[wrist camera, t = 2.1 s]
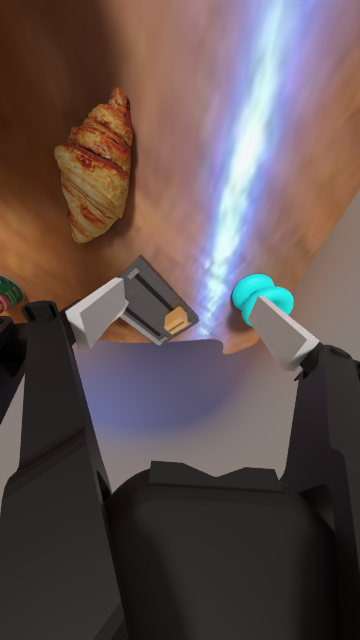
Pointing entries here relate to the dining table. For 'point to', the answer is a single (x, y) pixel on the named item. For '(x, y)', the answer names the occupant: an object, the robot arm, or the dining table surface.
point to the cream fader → (122, 310)
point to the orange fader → (176, 320)
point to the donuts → (260, 294)
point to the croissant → (97, 167)
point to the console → (151, 301)
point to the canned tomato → (9, 293)
